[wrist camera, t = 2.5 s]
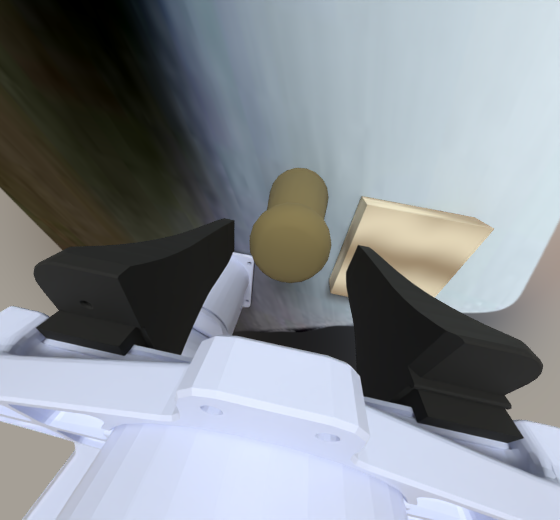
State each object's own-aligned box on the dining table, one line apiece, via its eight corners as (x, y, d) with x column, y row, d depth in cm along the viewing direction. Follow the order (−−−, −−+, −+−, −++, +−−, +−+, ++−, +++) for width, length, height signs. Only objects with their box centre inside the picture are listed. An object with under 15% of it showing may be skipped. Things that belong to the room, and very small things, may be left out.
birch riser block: (413, 296, 25) (422, 311, 23) (329, 279, 26) (330, 293, 24) (474, 217, 19) (494, 228, 17) (361, 196, 19) (367, 204, 17)
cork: (306, 235, 23) (302, 309, 14) (259, 208, 21) (222, 269, 12) (341, 189, 19) (366, 247, 10) (288, 154, 18) (264, 184, 9)
